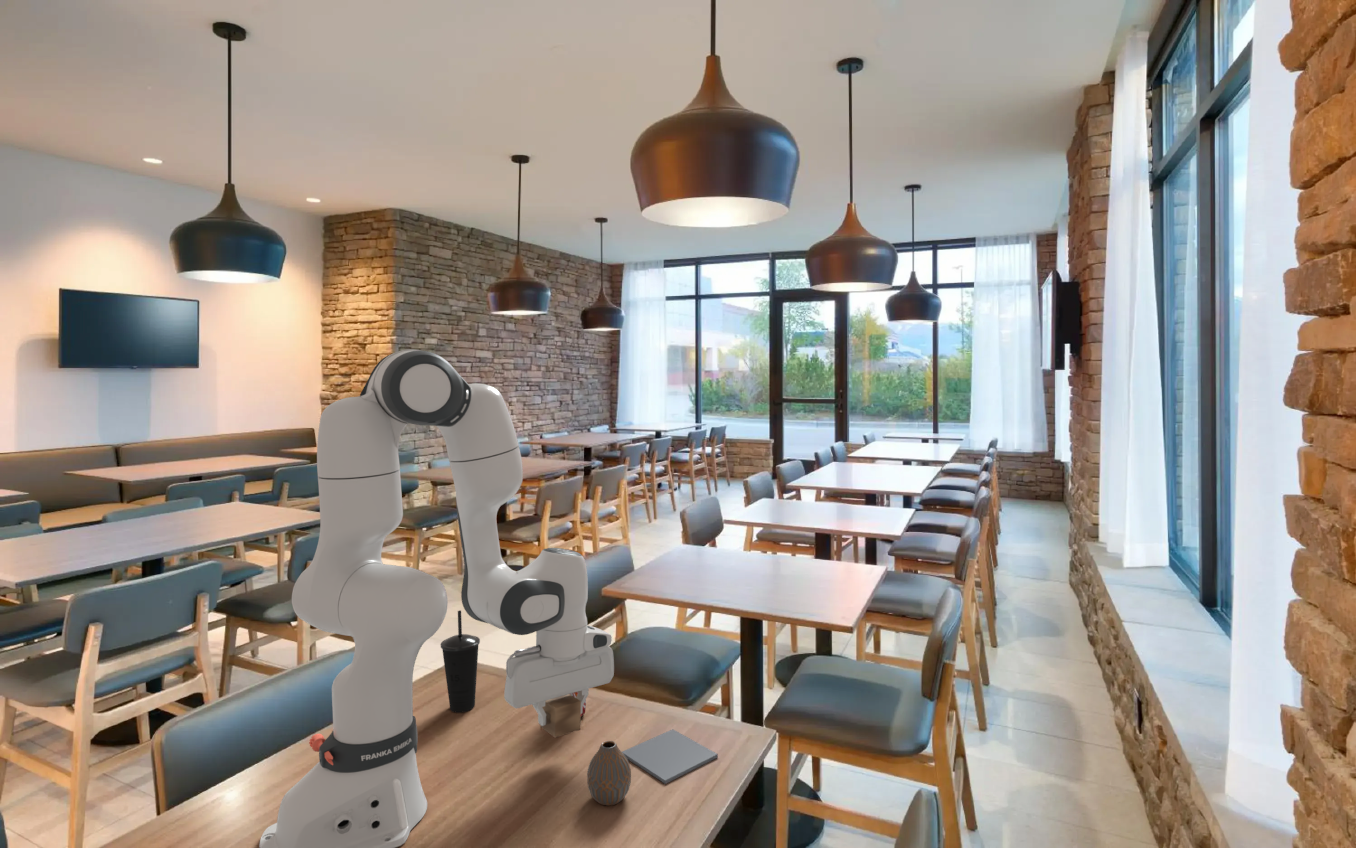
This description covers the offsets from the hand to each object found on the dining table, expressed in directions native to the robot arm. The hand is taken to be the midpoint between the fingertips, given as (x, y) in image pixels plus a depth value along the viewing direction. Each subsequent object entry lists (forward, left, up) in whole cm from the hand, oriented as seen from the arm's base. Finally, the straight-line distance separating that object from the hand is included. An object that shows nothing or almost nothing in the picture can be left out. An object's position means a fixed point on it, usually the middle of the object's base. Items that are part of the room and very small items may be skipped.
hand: (560, 718), depth 121 cm
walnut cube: (0, 0, -2) cm, 2 cm away
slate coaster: (+14, -13, -7) cm, 20 cm away
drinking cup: (-5, +30, -7) cm, 32 cm away
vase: (-1, -16, -7) cm, 17 cm away
